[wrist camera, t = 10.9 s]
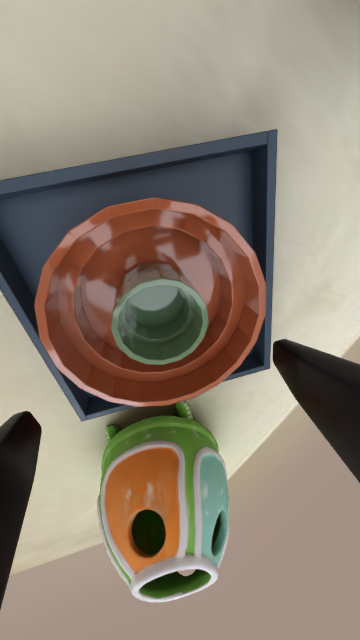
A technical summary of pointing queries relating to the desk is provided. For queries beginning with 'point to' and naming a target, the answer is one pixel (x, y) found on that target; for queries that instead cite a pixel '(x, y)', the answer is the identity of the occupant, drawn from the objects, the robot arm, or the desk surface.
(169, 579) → the turtle holder
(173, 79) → the desk surface
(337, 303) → the desk surface
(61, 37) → the desk surface
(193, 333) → the sage bowl
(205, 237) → the terracotta bowl
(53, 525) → the desk surface
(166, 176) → the tray
